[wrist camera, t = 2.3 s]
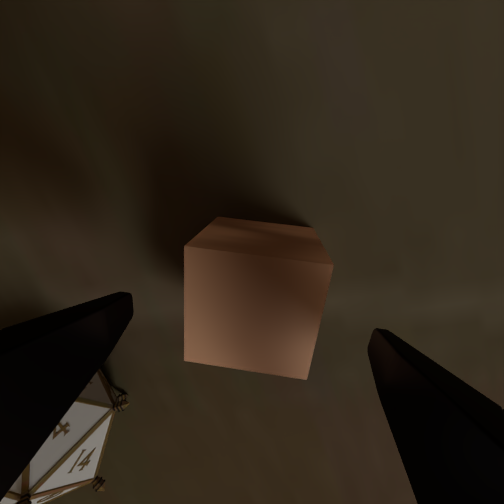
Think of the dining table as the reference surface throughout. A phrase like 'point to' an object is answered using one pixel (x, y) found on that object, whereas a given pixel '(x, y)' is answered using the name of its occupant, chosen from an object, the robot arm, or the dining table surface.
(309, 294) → the terracotta block
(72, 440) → the game die
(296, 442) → the dining table surface
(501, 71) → the dining table surface
